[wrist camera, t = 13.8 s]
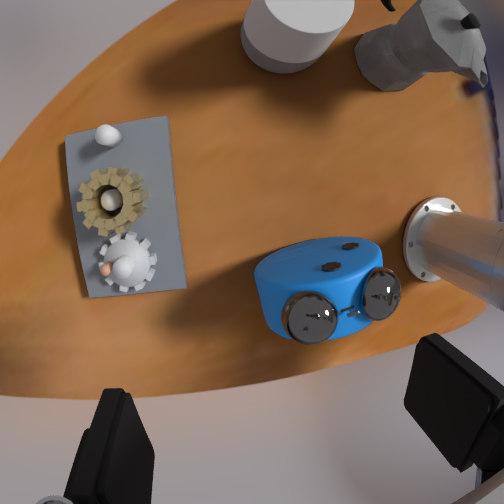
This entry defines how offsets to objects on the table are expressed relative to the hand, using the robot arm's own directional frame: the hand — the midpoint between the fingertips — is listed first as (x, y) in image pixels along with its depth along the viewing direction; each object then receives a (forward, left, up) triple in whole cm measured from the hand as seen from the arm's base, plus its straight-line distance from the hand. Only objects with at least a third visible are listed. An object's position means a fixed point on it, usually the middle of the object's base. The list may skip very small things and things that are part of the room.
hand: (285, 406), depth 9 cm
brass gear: (+11, -5, -26) cm, 29 cm away
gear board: (+11, -4, -28) cm, 31 cm away
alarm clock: (-9, +5, -28) cm, 30 cm away
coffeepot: (-22, -22, -28) cm, 42 cm away
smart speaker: (-8, -22, -28) cm, 37 cm away
